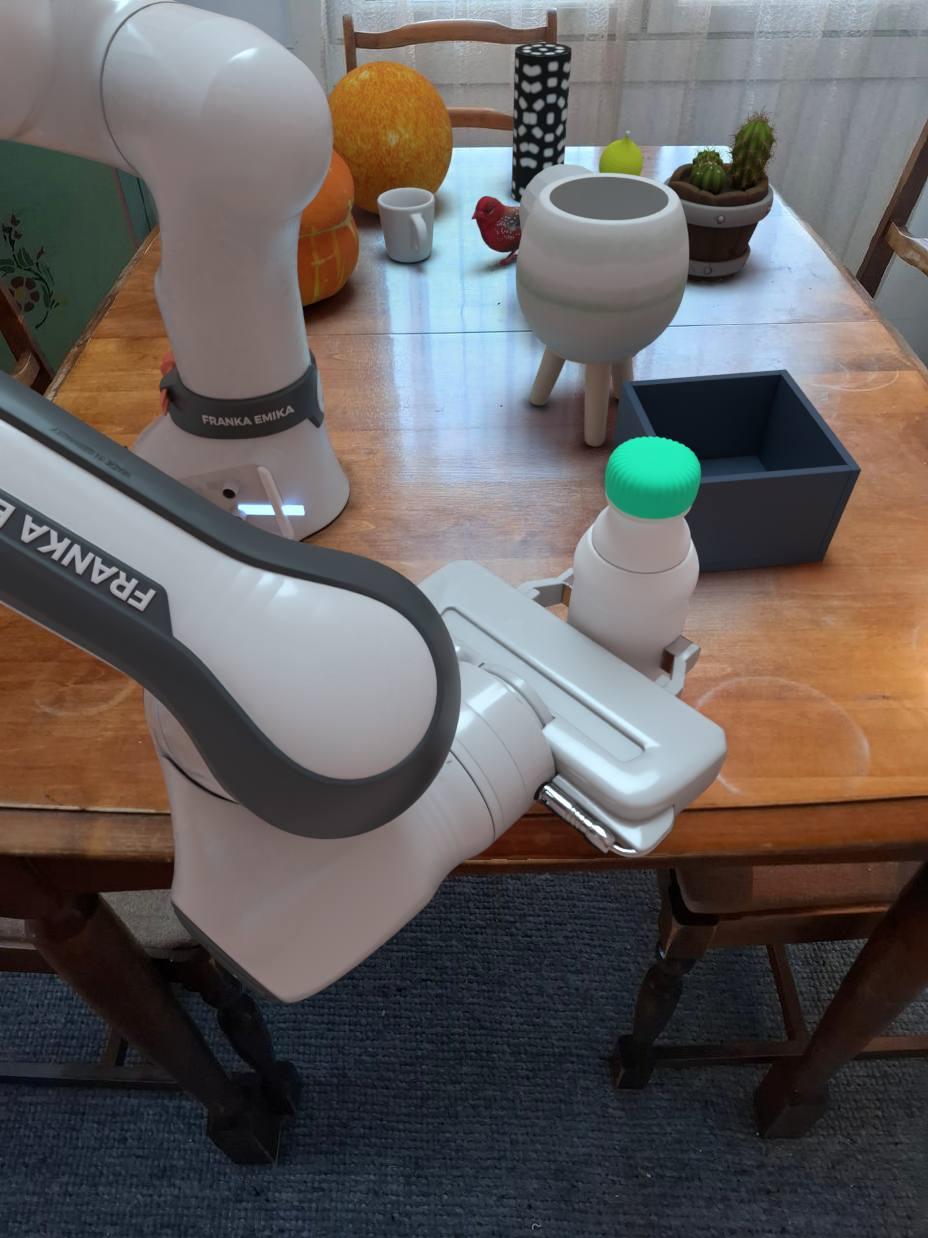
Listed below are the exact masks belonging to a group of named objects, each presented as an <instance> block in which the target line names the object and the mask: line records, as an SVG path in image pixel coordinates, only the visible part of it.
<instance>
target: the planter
mask: <svg viewBox="0 0 928 1238" xmlns="http://www.w3.org/2000/svg"><path fill="white" fill-rule="evenodd" d="M517 254H518V256H516V265H515V290H516V297H517V301H518V307H519V309H520V312H521V314H522V316H523V318H524V320H525V322H526V324H527V325H528V327H529V328H530V330H531V331H532V333H533V334H534V335H535V337H536V338H537V339H538V340H539V341H540V342H541V343H543V345H545V347H544V351H543V354H542V357H541V360H540V364H539V367H538V369H537V372H536V375H535V378H534V380H533V384H532V386H531V389H530V393H529V401H530V403H531V404H532V405H535V406H543V405H545V404H547V403H548V401H549V399H550V397H551V395H552V392H553V390H554V388H555V386H556V383H557V381H558V379H559V377H560V374H561V372H562V370H563V368H564V365H565V363H566V361H569V362H572V363H576V364H581V365H585V368H584V428H583V429H584V431H583V432H584V442H585V443H586V445H588V446H590V447H595V448H596V447H599V446H601V445H603V444H604V442H605V441H606V432H607V422H608V412H609V401H610V399H609V398H610V389H611V381H612V385H613V391H614V396H615V399H617V400H619V399H620V391H621V384H622V382H628V381H630V382H631V381H635V380H634V367H633V358H634V357H635V356H636V355H638V354H639V353H640V352H641V351H643V350H644V349H646V348H647V347H648V346H649V347H650V345H651V344H652V343H654V342H655V341H656V340H657V339H658V338H659V337H661V336H662V334H663V333H664V332H665V331H666V330H667V329H668V327H669V326H670V325H671V323H672V322H673V320H674V319H675V318H676V316H677V313H678V311H679V309H680V307H681V304H682V302H683V298H684V295H685V292H686V287H687V283H688V279H687V276H688V267H689V240H688V230H687V223H686V218H685V214H684V210H683V207H682V204H681V201H680V199H679V197H678V195H677V194H676V193H675V191H673V190H672V189H671V188H670V187H668V186H666V185H664V184H663V183H662V182H660V181H657V180H654V179H652V178H648V177H644V176H641V175H640V176H635V175H628V174H619V173H599V172H594V173H591V174H581V175H575V176H570V177H566V178H563V179H560V180H557V181H555V182H552V183H551V184H549V185H547V186H546V187H545V188H544V189H543V190H542V191H541V192H540V194H539V195H538V197H537V198H536V200H535V202H534V204H533V206H532V208H531V211H530V213H529V215H528V218H527V220H526V223H525V226H524V229H523V233H522V237H521V241H520V245H519V249H518V250H517Z"/></svg>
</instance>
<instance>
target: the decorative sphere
mask: <svg viewBox="0 0 928 1238" xmlns="http://www.w3.org/2000/svg"><path fill="white" fill-rule="evenodd" d="M326 99H327V102H328V105H329V108H330V113H331V118H332V124H333V149H334V150H335V151H336V153H337V154H338V155H339V156H340V157H341V158H342V159H343V160H344V162H345V163H346V165H347V166H348V168H349V170H350V173H351V176H352V179H353V183H354V202H353V205H355V206H357V207H359V208H360V209H362V210H364V211H367V212H370V213H372V214H377V215H380V214H379V208H378V203H377V201H378V198H379V196H380V195H381V194H383V193H384V192H387V191H389V190H393V189H398V188H419V189H423V190H426V191H429V192H430V193H432V194H433V196H435V194H436V193H437V192H438V190H440V188H441V186H442V185H443V183H444V181H445V179H446V177H447V175H448V172H449V169H450V166H451V163H452V162H451V161H452V156H453V150H454V148H453V147H454V136H453V135H454V134H453V127H452V122H451V118H450V115H449V112H448V109H447V106H446V104H445V102H444V100H443V98H442V97H441V95H440V93H439V92H438V90H437V89H436V88H435V86H434V85H433V84H432V83H431V81H429V80H428V79H427V78H426V77H425V76H424V75H422V74H421V73H420V72H418V71H417V70H415V69H414V68H412V67H410V66H408V65H405V64H402V63H399V62H397V61H388V60H377V61H372V62H371V61H370V62H367V63H364V64H362V65H359V66H357V67H355V68H354V69H352V70H350V71H349V72H347V73H346V74H345V75H344V76H342V78H341V79H340V80H339V81H338V82H337V83H336V85H335V86H334V87H333V89H332V90H331V92H330V94H329V96H328V97H327V98H326Z"/></svg>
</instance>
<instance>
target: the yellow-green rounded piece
mask: <svg viewBox="0 0 928 1238" xmlns="http://www.w3.org/2000/svg"><path fill="white" fill-rule="evenodd" d="M630 135H631V131H630V130H626V131H625V135H624V137H622V139H618V140H614V141H613V142H611V143H609V144H608V145H607V146H606V147H605V148H604V150H603V151H602V153H601V154H600V157H599V162H598V173H619V174H628V175H635V176H640V177H641V175H642V171H643V167H644V158H643V153H642V151H641V149H640V147H639V146H638V145H637V144H636V143H635V142H633V141H632V140H631V139H630Z"/></svg>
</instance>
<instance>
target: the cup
mask: <svg viewBox="0 0 928 1238" xmlns="http://www.w3.org/2000/svg"><path fill="white" fill-rule="evenodd" d="M377 203H378V208H379V214H378V215H379V218H380V225H381V230H382V235H383V240H384V245H385V250H386V252H387V254H388V256H389V258H391V260H394V261H397V262H400V263H417V262H421V261H424V260H425V259H427V258H428V257H429V256H430V255H431V253H432V249H433V244H434V243H433V242H434V221H435V206H436V205H435V204H436V198H435V195H433V194H432V193H430V192H429V191H426V190H423V189H419V188H398V189H393V190H389V191H387V192H384V193H383V194H381V195H380V196H379V198H378V201H377Z"/></svg>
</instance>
